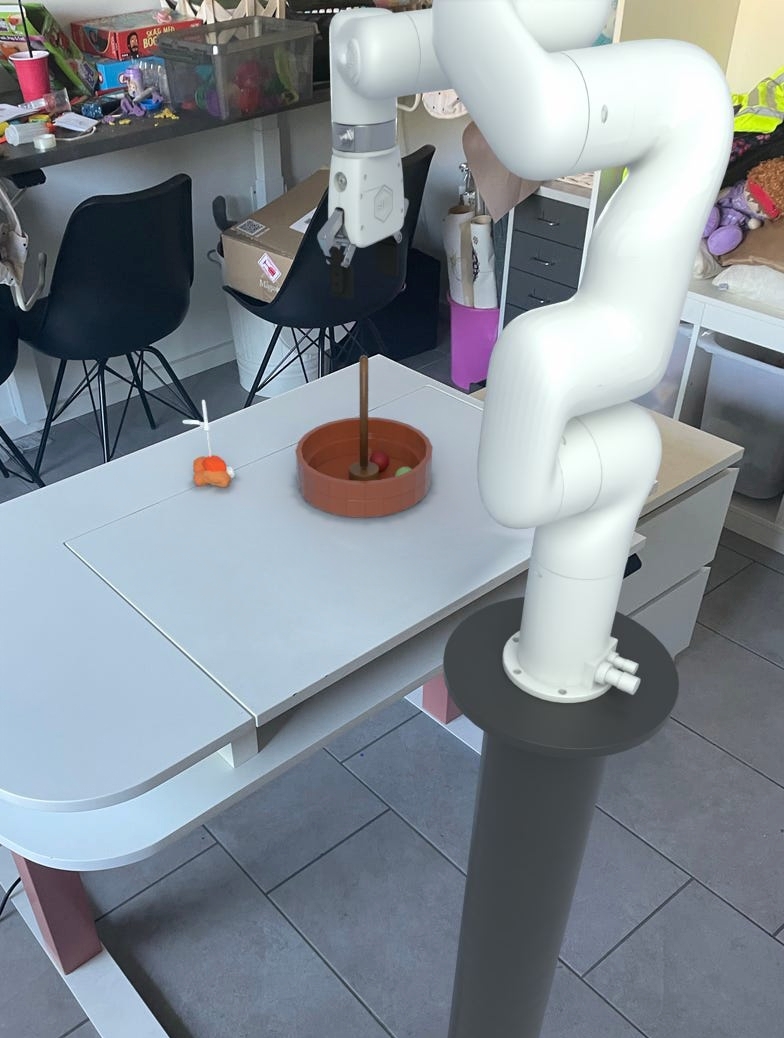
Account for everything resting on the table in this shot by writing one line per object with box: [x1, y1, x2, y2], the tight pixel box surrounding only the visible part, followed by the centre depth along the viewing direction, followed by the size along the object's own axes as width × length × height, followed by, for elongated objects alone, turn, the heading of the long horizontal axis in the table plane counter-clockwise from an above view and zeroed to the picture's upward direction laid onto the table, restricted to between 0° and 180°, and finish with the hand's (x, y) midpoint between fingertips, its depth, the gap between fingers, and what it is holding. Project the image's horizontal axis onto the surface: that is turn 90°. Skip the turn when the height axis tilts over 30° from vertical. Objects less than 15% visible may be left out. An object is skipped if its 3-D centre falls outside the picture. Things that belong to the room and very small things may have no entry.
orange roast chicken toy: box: [182, 399, 236, 489], centre depth 139 cm, size 6×10×12 cm, turn 38°
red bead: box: [369, 451, 389, 472], centre depth 140 cm, size 3×3×3 cm
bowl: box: [295, 416, 433, 518], centre depth 137 cm, size 20×20×6 cm
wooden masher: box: [349, 354, 379, 481], centre depth 133 cm, size 4×4×19 cm
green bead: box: [395, 467, 412, 477], centre depth 136 cm, size 3×3×3 cm
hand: (365, 285), depth 120 cm, fingers open, 9 cm apart
